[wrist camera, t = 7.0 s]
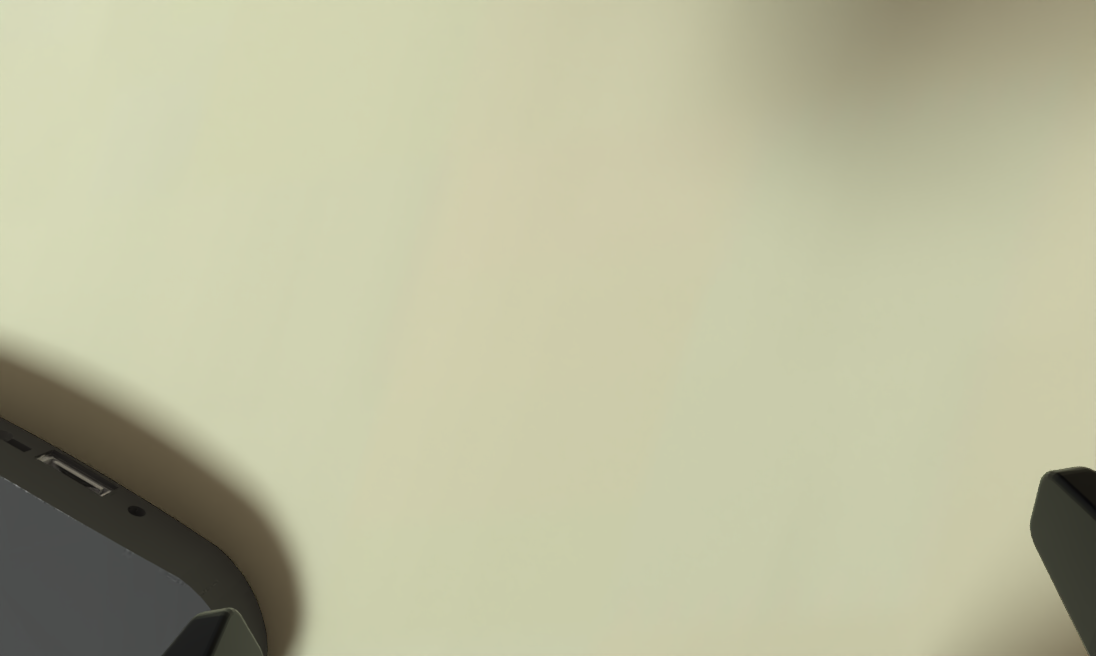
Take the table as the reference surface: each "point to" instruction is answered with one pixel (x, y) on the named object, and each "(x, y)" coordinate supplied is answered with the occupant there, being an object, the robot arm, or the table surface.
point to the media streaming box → (99, 562)
